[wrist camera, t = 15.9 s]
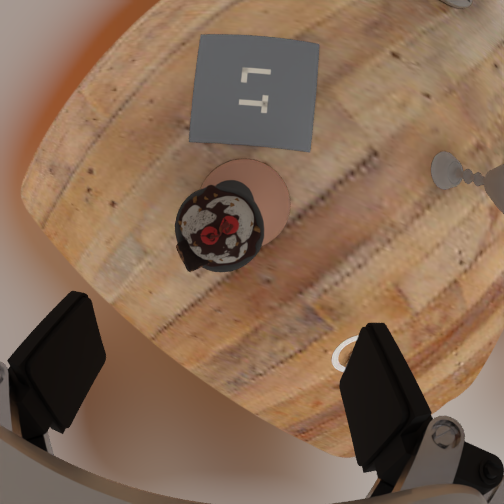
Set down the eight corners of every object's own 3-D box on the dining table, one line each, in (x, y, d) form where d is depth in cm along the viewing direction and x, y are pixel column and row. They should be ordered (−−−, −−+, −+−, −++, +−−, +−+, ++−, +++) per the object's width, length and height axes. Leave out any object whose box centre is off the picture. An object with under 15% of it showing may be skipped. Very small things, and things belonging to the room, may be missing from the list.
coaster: (201, 156, 29) (200, 156, 28) (294, 163, 29) (295, 164, 28) (197, 242, 32) (196, 245, 32) (283, 250, 32) (284, 252, 32)
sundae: (260, 169, 28) (263, 193, 14) (263, 230, 31) (268, 304, 17) (197, 173, 29) (144, 203, 15) (204, 233, 31) (164, 306, 17)
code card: (201, 35, 23) (200, 34, 23) (319, 44, 23) (319, 44, 23) (189, 142, 28) (188, 142, 28) (309, 152, 28) (310, 152, 28)
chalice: (418, 185, 29) (526, 232, 12) (430, 135, 26) (544, 149, 10) (456, 203, 29) (553, 253, 13) (468, 157, 27) (570, 184, 10)
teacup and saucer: (381, 323, 37) (390, 340, 33) (385, 357, 40) (393, 374, 36) (326, 344, 38) (331, 362, 35) (336, 376, 41) (341, 394, 37)
